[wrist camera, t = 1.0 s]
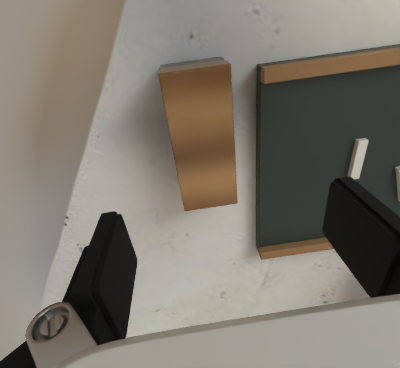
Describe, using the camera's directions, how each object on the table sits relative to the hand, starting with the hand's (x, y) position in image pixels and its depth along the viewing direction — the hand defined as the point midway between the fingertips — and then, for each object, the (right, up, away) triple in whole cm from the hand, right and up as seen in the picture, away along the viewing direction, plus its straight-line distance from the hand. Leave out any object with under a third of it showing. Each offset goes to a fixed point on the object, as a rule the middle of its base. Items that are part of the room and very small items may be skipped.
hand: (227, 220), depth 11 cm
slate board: (+17, +4, +16) cm, 24 cm away
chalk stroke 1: (+15, +4, +15) cm, 21 cm away
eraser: (-1, +7, +13) cm, 15 cm away
